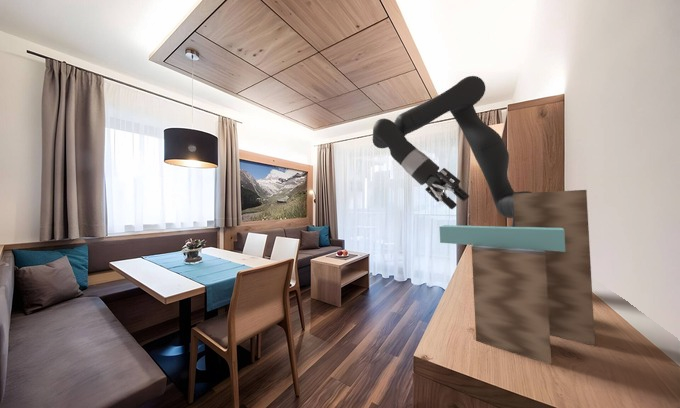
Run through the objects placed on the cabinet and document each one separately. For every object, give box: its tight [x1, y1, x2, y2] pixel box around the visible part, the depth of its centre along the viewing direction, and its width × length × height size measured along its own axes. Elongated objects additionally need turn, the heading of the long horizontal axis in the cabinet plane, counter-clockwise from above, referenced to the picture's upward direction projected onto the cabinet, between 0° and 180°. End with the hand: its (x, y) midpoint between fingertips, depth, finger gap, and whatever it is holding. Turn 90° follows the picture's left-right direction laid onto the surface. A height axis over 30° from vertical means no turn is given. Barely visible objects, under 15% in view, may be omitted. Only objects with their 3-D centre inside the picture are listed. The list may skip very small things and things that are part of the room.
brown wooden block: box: [471, 245, 552, 365], centre depth 48 cm, size 12×8×21 cm, turn 48°
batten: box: [439, 224, 565, 252], centre depth 50 cm, size 22×4×4 cm, turn 48°
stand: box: [513, 189, 596, 347], centre depth 52 cm, size 12×7×32 cm, turn 48°
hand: (460, 203), depth 66 cm, fingers open, 8 cm apart
